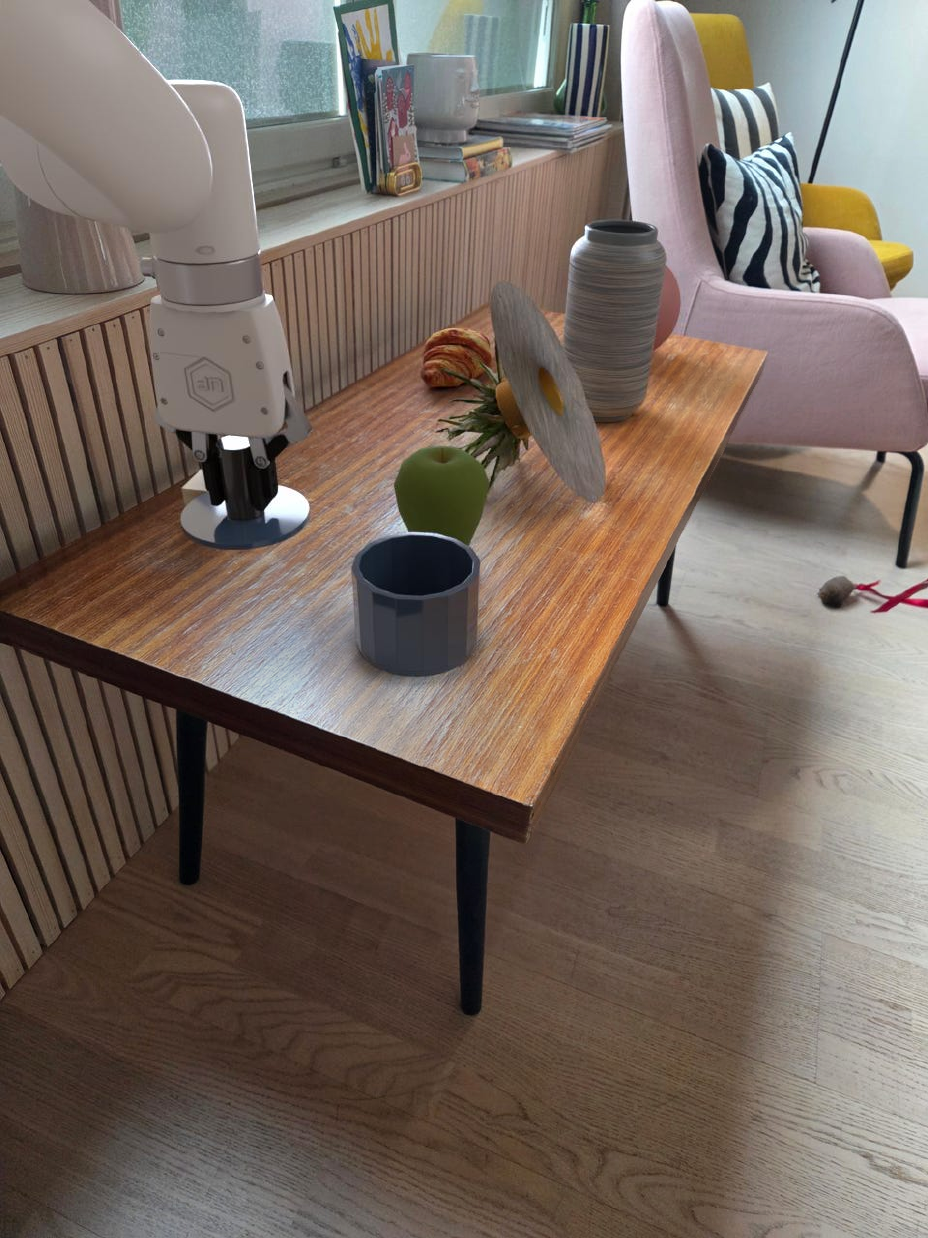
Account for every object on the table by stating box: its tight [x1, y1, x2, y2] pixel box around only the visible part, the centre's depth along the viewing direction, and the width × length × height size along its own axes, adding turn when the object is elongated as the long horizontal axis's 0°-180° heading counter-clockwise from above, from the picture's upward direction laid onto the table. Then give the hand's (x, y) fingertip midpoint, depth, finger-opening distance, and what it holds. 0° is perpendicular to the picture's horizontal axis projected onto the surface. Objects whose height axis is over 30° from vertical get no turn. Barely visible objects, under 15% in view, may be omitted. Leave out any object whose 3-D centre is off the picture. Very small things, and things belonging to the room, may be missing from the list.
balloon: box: [653, 265, 682, 352], centre depth 127 cm, size 15×20×15 cm
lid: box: [179, 435, 311, 551], centre depth 73 cm, size 11×11×8 cm
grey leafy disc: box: [434, 280, 607, 503], centre depth 95 cm, size 25×18×25 cm
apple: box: [393, 445, 490, 547], centre depth 80 cm, size 9×8×12 cm
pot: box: [350, 531, 481, 677], centre depth 71 cm, size 10×10×8 cm
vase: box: [561, 219, 667, 423], centre depth 109 cm, size 12×12×23 cm
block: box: [180, 469, 209, 508], centre depth 88 cm, size 4×4×4 cm
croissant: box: [420, 327, 493, 388], centre depth 125 cm, size 21×10×8 cm, turn 158°
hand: (243, 499), depth 74 cm, fingers closed on lid, 3 cm apart
